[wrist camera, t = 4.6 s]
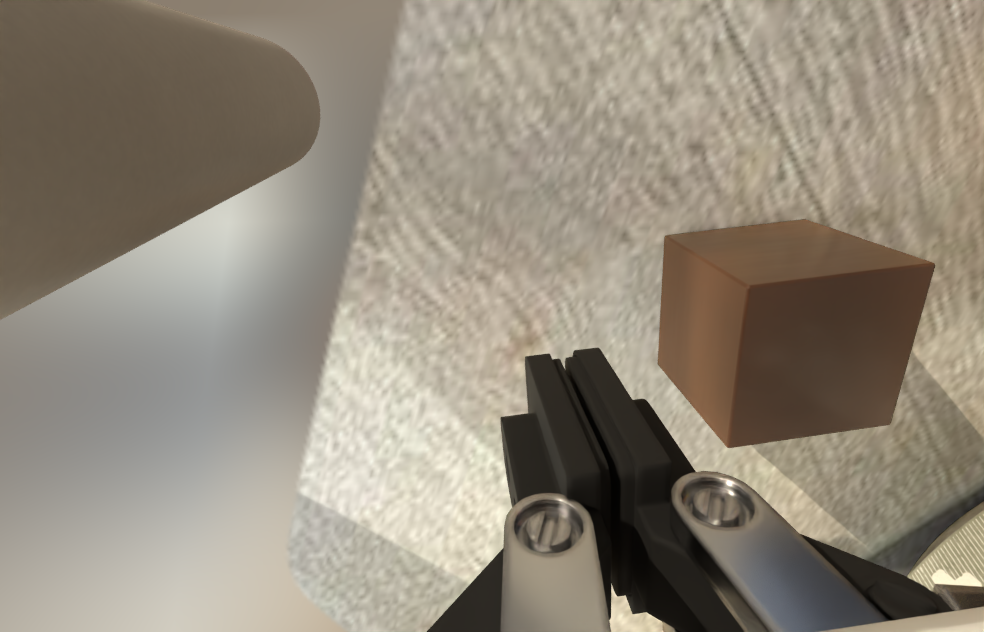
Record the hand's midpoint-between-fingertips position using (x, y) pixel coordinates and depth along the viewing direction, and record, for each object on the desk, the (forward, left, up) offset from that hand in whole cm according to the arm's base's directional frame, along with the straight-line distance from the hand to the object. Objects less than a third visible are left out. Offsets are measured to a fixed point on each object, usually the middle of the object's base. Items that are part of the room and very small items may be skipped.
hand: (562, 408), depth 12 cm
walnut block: (+7, 0, -5) cm, 8 cm away
